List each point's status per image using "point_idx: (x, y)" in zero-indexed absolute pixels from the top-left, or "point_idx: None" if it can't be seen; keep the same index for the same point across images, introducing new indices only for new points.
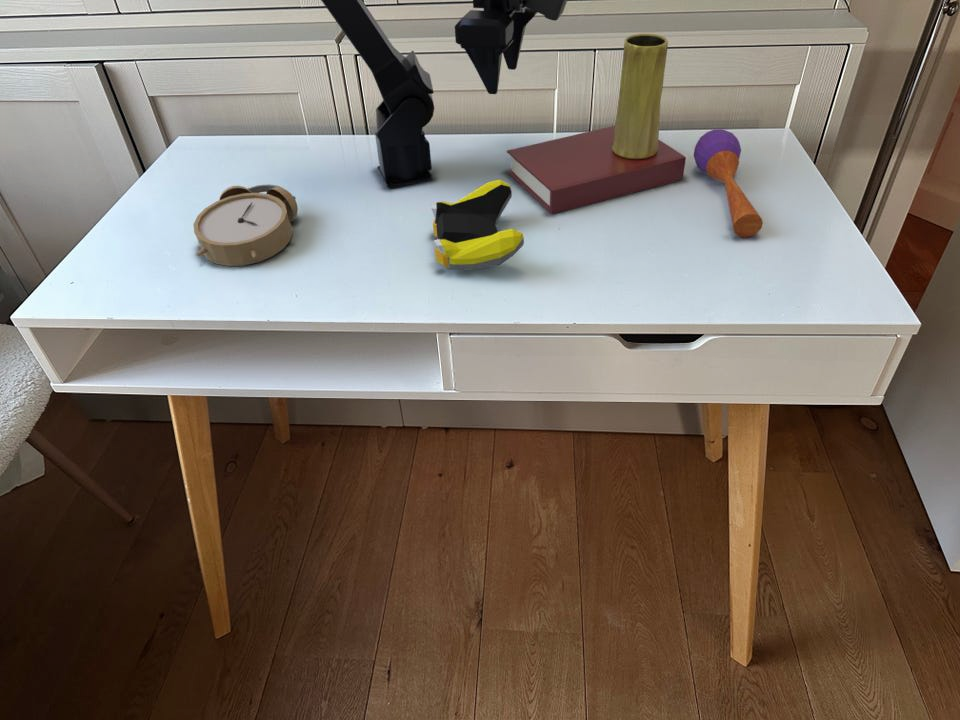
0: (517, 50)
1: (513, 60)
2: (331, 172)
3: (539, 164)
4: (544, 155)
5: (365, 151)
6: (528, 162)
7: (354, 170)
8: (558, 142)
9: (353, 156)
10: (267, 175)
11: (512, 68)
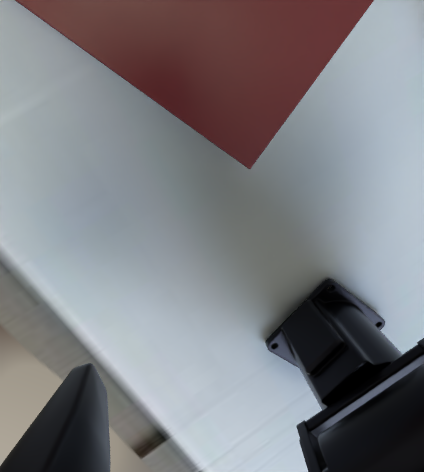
0: (56, 463)
1: (90, 412)
2: None
3: (306, 14)
4: (237, 31)
5: (261, 434)
6: (303, 60)
7: None
8: (114, 32)
9: (285, 434)
10: None
11: (96, 377)
